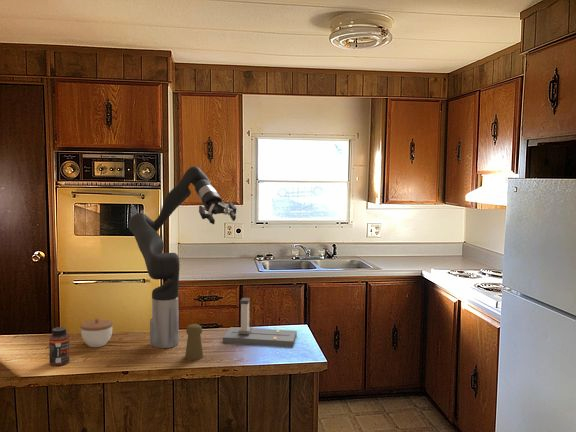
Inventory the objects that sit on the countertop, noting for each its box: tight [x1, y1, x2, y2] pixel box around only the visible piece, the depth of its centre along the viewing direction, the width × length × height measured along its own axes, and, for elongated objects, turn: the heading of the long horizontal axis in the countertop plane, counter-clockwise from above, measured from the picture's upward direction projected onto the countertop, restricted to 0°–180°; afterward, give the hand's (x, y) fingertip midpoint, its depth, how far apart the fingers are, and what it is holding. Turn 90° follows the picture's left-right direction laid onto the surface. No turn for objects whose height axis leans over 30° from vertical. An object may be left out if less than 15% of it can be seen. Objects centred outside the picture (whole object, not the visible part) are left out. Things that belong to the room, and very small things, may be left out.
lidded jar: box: [80, 318, 114, 348], centre depth 172 cm, size 11×11×9 cm
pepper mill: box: [184, 323, 204, 361], centre depth 161 cm, size 6×6×11 cm
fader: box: [238, 297, 253, 334], centre depth 180 cm, size 4×5×13 cm
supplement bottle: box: [48, 326, 71, 367], centre depth 154 cm, size 6×6×11 cm
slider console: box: [222, 326, 298, 348], centre depth 180 cm, size 26×12×2 cm, turn 83°
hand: (224, 220), depth 186 cm, fingers open, 8 cm apart
